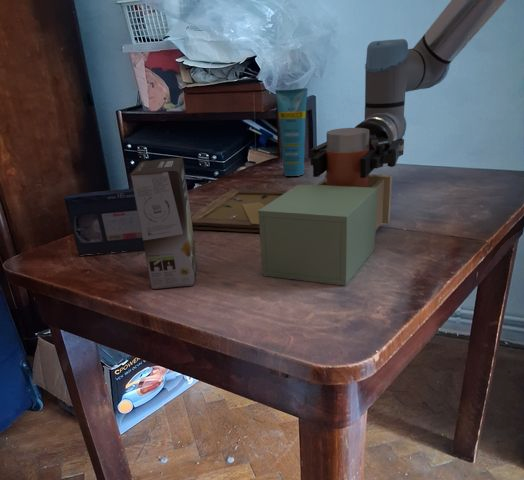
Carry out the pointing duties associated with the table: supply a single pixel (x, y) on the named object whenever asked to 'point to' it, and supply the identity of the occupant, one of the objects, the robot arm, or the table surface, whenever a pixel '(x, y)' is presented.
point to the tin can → (346, 156)
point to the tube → (292, 128)
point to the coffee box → (165, 222)
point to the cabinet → (318, 233)
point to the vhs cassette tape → (104, 221)
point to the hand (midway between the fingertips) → (338, 168)
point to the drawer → (379, 196)
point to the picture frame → (235, 210)
